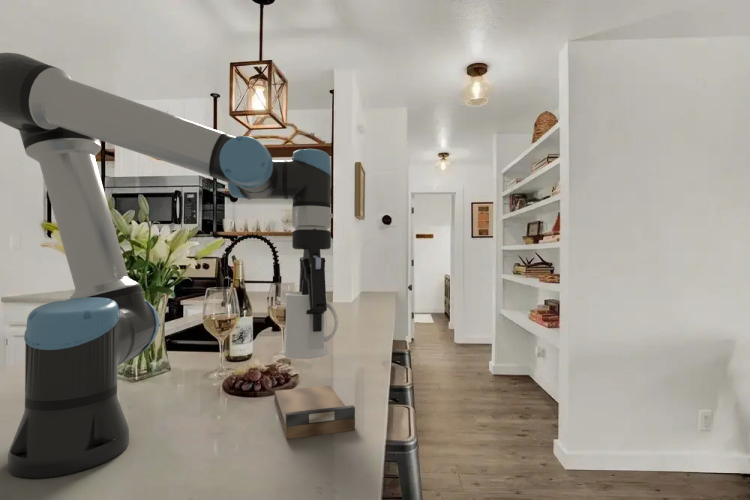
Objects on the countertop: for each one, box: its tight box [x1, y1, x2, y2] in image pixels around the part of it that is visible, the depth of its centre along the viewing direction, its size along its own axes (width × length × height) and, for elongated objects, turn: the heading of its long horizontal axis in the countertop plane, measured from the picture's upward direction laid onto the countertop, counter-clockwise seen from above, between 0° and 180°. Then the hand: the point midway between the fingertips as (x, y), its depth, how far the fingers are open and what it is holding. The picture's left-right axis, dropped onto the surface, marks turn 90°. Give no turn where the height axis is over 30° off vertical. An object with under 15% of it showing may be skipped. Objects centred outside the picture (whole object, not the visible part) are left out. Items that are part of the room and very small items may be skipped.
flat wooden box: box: [274, 385, 356, 440], centre depth 82 cm, size 12×20×4 cm, turn 19°
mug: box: [283, 291, 339, 360], centre depth 83 cm, size 12×8×12 cm
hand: (311, 343), depth 84 cm, fingers closed on mug, 9 cm apart
